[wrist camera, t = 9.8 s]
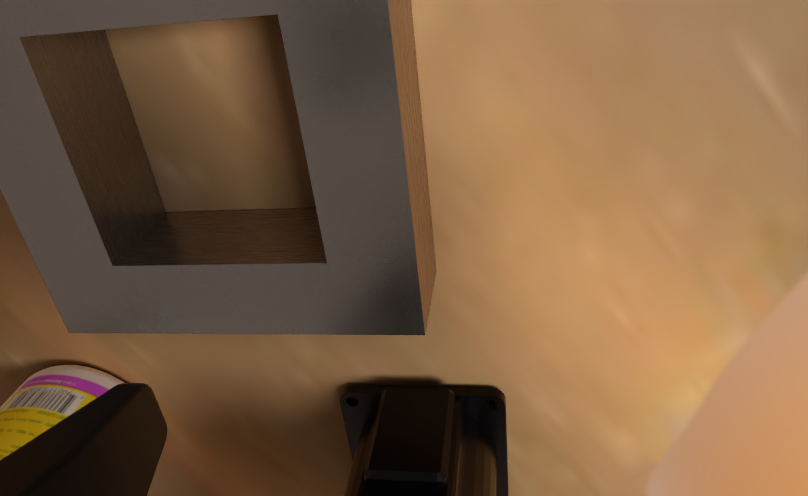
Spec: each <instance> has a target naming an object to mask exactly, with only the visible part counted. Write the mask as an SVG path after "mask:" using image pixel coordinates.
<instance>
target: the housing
mask: <svg viewBox="0 0 808 496" xmlns="http://www.w3.org/2000/svg"><path fill="white" fill-rule="evenodd" d="M276 14H278V19H279V24H280V29H281V34H282V39H283V44H284V49H285V54H286V59H287V64H288V69H289V74H290V79H291V84H292V89H293V94H294V99H295V104H296V109H297V114H298V119H299V124H300V129H301V134H302V139H303V144H304V149H305V155H306V160H307V165H308V170H309V175H310V180H311V185H312V190H313V195H314V200H315V205H316V208H298V209H265V210H232V211H199V212H165V209H164V206H163V203H162V200H161V197H160V194H159V191H158V188H157V185H156V182H155V179H154V176H153V173H152V170H151V167H150V164H149V161H148V158H147V155H146V152H145V150H144V147H143V144H142V141H141V138H140V135H139V132H138V129H137V126H136V123H135V120H134V117H133V114H132V111H131V108H130V105H129V102H128V99H127V96H126V93H125V90H124V87H123V84H122V81H121V78H120V75H119V73H118V70H117V67H116V64H115V61H114V58H113V55H112V52H111V49H110V46H109V43H108V40H107V37H106V34H105V31H104V30H105V29H117V28H128V27H140V26H151V25H162V24H174V23H185V22H197V21H208V20H219V19H231V18H242V17H253V16H265V15H276ZM0 190H1V192H2V194H3V197H4V199H5V201H6V203H7V205H8V207H9V209H10V211H11V213H12V215H13V217H14V219H15V222H16V224H17V226H18V228H19V230H20V232H21V234H22V236H23V238H24V240H25V242H26V244H27V247H28V249H29V251H30V253H31V255H32V257H33V259H34V261H35V263H36V265H37V267H38V269H39V272H40V274H41V276H42V278H43V280H44V282H45V284H46V286H47V288H48V290H49V292H50V294H51V297H52V299H53V301H54V303H55V305H56V307H57V309H58V311H59V313H60V315H61V317H62V319H63V322H64V324H65V326H66V328H67V330H68V332H69V333H191V334H342V335H425V332H426V327H427V321H428V315H429V310H430V304H431V298H432V292H433V287H434V281H435V275H436V263H435V253H434V242H433V231H432V221H431V210H430V199H429V189H428V178H427V168H426V157H425V146H424V136H423V125H422V114H421V104H420V93H419V82H418V72H417V61H416V50H415V40H414V29H413V18H412V8H411V0H0Z"/></svg>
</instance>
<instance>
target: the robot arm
mask: <svg viewBox="0 0 808 496" xmlns="http://www.w3.org/2000/svg"><path fill="white" fill-rule="evenodd" d="M350 397H353V398H356V399H352V398H350ZM488 401H496V402H495V403H491V402H488ZM340 403H341V408H342V413H343V417H344V422H345V427H346V431H347V436H348V441H349V445H350V450H351V455H352V459H353V464H352V468H351V471H350V475H349V479H348V483H347V487H346V491H345V495H344V496H508V466H507V433H506V400H505V395H504V394H503V393H502V392H501V391H500V390H498V389H493V388H452V387H405V386H358V385H352V386H347V387H345V388H344V389H343V391H342V394H341V397H340ZM166 436H167V426H166V422H165V419H164V417H163V414H162V412H161V409H160V407H159V405H158V402H157V400H156V398H155V395H154V393H153V391H152V389H151V388H150V387H149V386H148V385H147V384H143V383H122V384H118V385H116V386H114V387H113V388H111V389H110V390H108V391H107V392H105V393H103V394H102V395H100V396H99V397H97V398H96V399H94V400H93V401H91V402H90V403H88V404H86V405H85V406H83V407H82V408H80V409H79V410H77V411H76V412H74V413H73V414H71V415H69V416H68V417H66V418H65V419H63V420H62V421H60V422H59V423H57V424H56V425H54V426H52V427H51V428H49V429H48V430H46V431H45V432H43V433H42V434H40V435H39V436H37V437H35V438H34V439H32V440H31V441H29V442H28V443H26V444H25V445H23V446H22V447H20V448H18V449H17V450H15V451H14V452H12V453H11V454H9V455H8V456H6V457H5V458H3V459H1V460H0V496H147V493H148V490H149V487H150V484H151V482H152V479H153V476H154V473H155V470H156V467H157V464H158V461H159V458H160V455H161V453H162V450H163V447H164V444H165V440H166Z"/></svg>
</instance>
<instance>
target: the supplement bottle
mask: <svg viewBox="0 0 808 496" xmlns="http://www.w3.org/2000/svg"><path fill="white" fill-rule="evenodd" d="M122 383H125V382H123V381H121V380H119V379H118V378H116V377H114V376H112V375H110V374H108V373H105V372H103V371H100V370H97V369H94V368H90V367H86V366H79V365H59V366H53V367H49V368H46V369H43V370H41V371H39V372H37V373H35V374H33V375H32V376H30V377H29V378H28V379H27V380H26V381H25V382H24V383H23V384H22V385H21V386H20V387H19V388H18V389H17V390H16V391H15V392H14V393H13V394H12V395H11V396H10V397H9V398H8V399H7V401H6V402H5V403H4V404H3V405H2V406H1V407H0V460H1V459H3V458H5V457H6V456H8V455H9V454H11V453H12V452H14V451H15V450H17V449H18V448H20V447H22V446H23V445H25V444H26V443H28V442H29V441H31V440H32V439H34V438H35V437H37V436H39V435H40V434H42V433H43V432H45V431H46V430H48V429H49V428H51V427H52V426H54V425H56V424H57V423H59V422H60V421H62V420H63V419H65V418H66V417H68V416H69V415H71V414H73V413H74V412H76V411H77V410H79V409H80V408H82V407H83V406H85V405H86V404H88V403H90V402H91V401H93V400H94V399H96V398H97V397H99V396H100V395H102V394H103V393H105V392H107V391H108V390H110V389H111V388H113V387H114V386H116V385H118V384H122Z"/></svg>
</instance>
